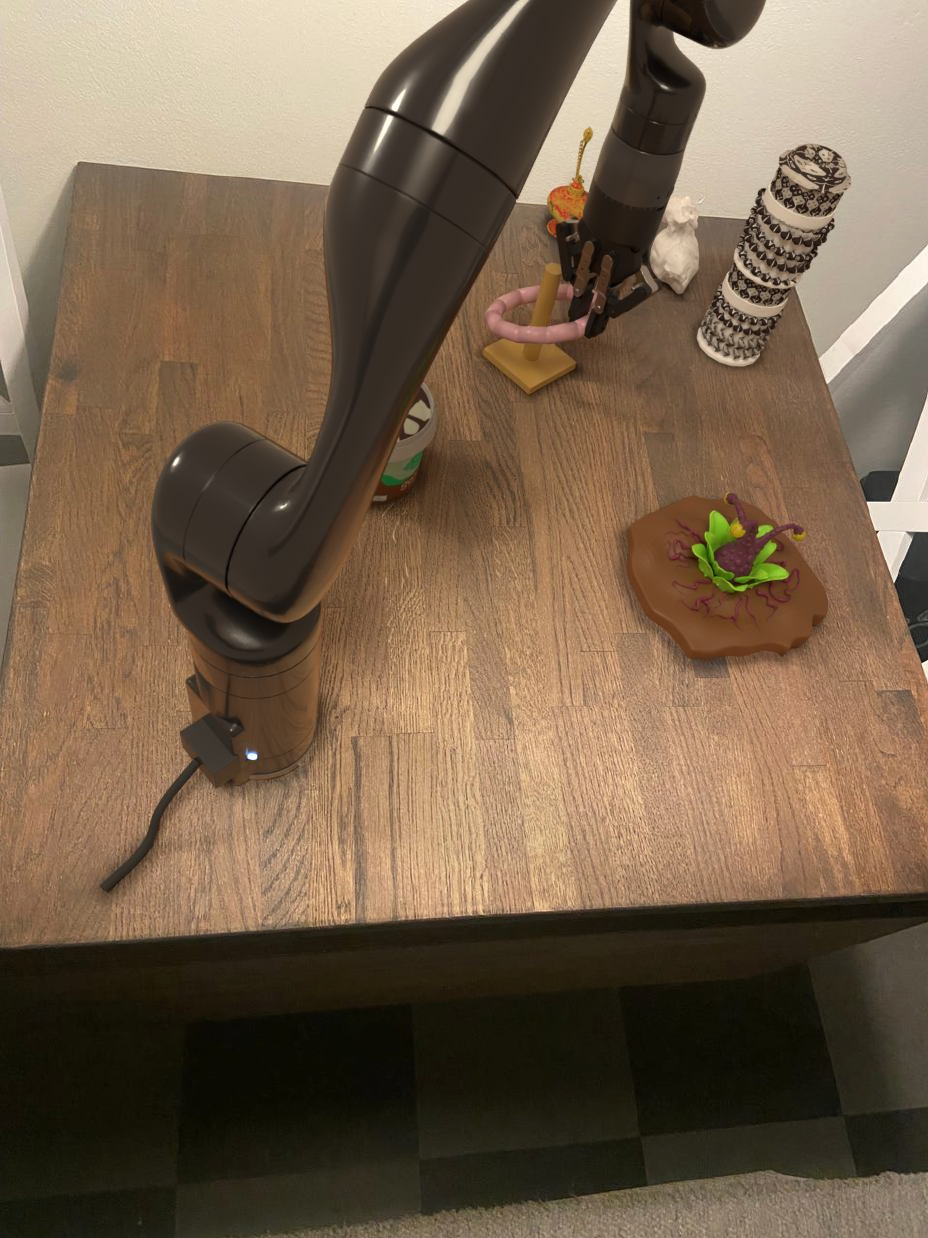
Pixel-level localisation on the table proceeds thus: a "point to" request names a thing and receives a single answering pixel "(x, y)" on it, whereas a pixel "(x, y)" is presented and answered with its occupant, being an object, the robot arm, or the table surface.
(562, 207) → the orange ornate vessel
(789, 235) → the decorative candle
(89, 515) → the table surface
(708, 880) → the table surface
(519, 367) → the stand
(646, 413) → the table surface
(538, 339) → the ring
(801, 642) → the plant
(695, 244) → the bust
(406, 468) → the food container
